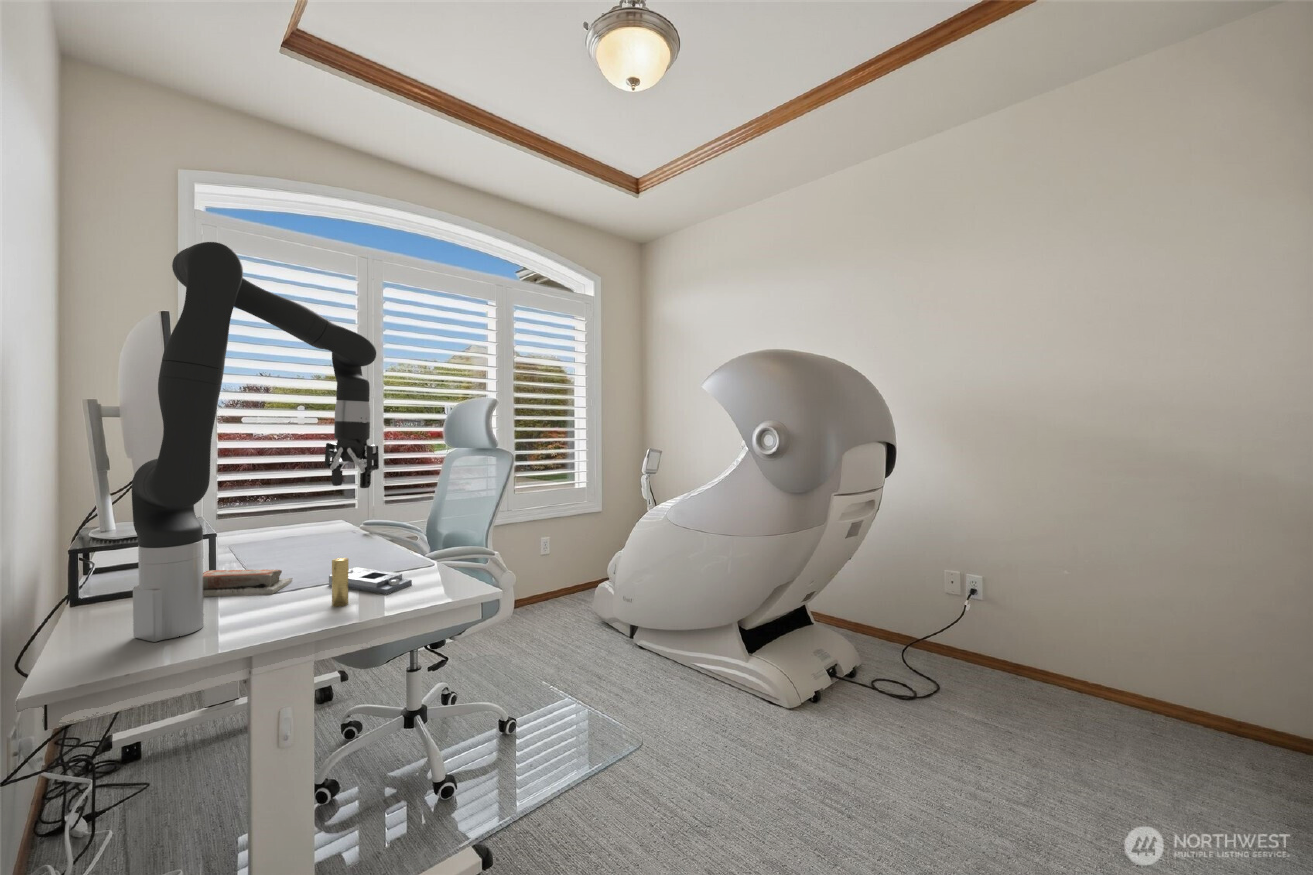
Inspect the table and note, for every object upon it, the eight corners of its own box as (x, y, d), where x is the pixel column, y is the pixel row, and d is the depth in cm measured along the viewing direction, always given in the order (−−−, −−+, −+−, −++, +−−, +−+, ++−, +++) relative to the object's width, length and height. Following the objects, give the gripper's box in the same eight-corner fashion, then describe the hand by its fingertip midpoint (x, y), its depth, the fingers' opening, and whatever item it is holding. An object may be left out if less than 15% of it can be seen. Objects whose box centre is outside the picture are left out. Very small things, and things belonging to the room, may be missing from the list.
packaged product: (184, 578, 123) (211, 566, 133) (184, 599, 124) (211, 585, 133) (273, 575, 127) (293, 564, 137) (273, 596, 127) (293, 583, 137)
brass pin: (339, 607, 119) (339, 562, 119) (328, 605, 120) (328, 560, 120) (351, 602, 122) (351, 558, 122) (341, 601, 123) (341, 557, 123)
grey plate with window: (386, 594, 128) (386, 583, 128) (328, 585, 134) (328, 574, 134) (411, 584, 136) (411, 574, 136) (356, 576, 142) (356, 566, 142)
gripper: (316, 418, 131) (314, 486, 131) (363, 420, 126) (361, 490, 127) (342, 419, 138) (341, 483, 138) (388, 421, 134) (386, 487, 134)
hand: (350, 486), depth 132 cm, fingers open, 8 cm apart
